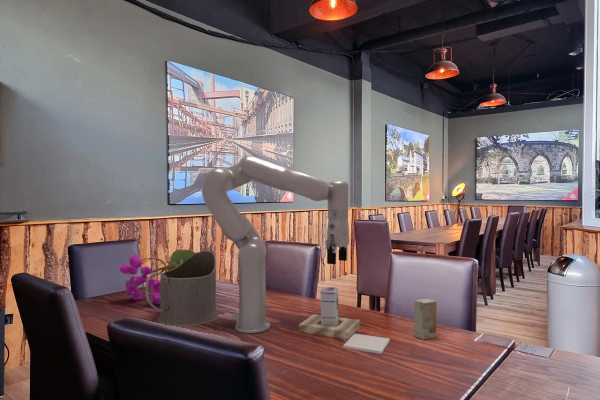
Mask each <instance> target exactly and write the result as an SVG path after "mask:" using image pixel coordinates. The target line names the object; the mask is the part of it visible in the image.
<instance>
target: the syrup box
mask: <svg viewBox="0 0 600 400" xmlns="http://www.w3.org/2000/svg"><path fill="white" fill-rule="evenodd" d="M319 292H320V315H321V325H325V326H333V327H337V326H339V317H340V316H339V314H340V313H339V288H338V287H332V286H327V287H326V286H324V287H322V289H321V290H320V291H319Z"/></svg>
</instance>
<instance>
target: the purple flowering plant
mask: <svg viewBox="0 0 600 400" xmlns="http://www.w3.org/2000/svg"><path fill="white" fill-rule="evenodd" d="M196 253H197V252H195V251H193V250H190V249H178V250H174V251H173V252H172V254H171V257H170V260H169V262H168V261H164V260H162V259H160V258H156V257H145V258H144V259H141V258H142V257H141V256H138V254H136V253H134V254H132V255H131V257H130V258H129V259H128V263H126V264H122V265H121V266H119V272H120V273H123V274H125V275H137V273H138V270H139V269H140V272H139V273H140V274H141V275H140V276H131V277H130V278H129V279H128V280H126V281H125V285H124V287H125V291H126V296H127V297H129V299H131V300H133V301H135V302H137V301H141V300H142V299H143V298H144V296H143V293H142V291H141V290H142V289H145V286H144V285H145V284H146V280H147V278H148V276H149V275H150V274H151V273H154V272H158V273H164V272H167V271H170V270H173V269H175V268H176V267H178V266H179V265H181V264H182V263H183V262H185V261H186V260H187V259H188V258H190V257H191V256H193V255H194V254H196ZM151 260H155V261H159V262H160V264H158V265H155V269H154V267H152V268H151V267H149V266H148V265H146V266H143V264H145V263H147V262H149V261H151ZM143 261H144V262H143ZM162 264H163V266H162V267H159V268H157V267H158V266H160V265H162ZM167 264H168V265H167ZM142 266H143V267H142ZM140 267H141V268H140ZM159 275H160V274H153V275H152V276H151V277H150V279H149V281H148V289H150V290H152V292H151V293H150V296H148V297H149V300H150V302H152V303H153V304H155V305H160V279H159V280H158V279H156V278H154V277H156V276H159ZM141 285H142V286H141ZM139 286H140V287H139Z"/></svg>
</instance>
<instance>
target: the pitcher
mask: <svg viewBox="0 0 600 400" xmlns="http://www.w3.org/2000/svg"><path fill="white" fill-rule="evenodd" d="M195 253H196V254H194V255H193V256H191V257H190V258H188V259H187V260H186V261H185V262H183V263H182V264H181V265H179V266H178V267H176V268H175V269H173V270H170V271H168V270H167V272H165V271H164V272H162V273H159V271H156V272H153V273H151V274H149V275H147V277H148V278H147V280H146V283H144V287H145V288H144V289H145V290H144V292H145V293H144V294H145V298H146V299H145V300H146V302H147V303H148V304H149V306H151V307H152V308H153V309H155V310H158V311H159V315H158V316H157V322H158V323H160V324H163V325H165V324H167V325H166V326H171V325H172V326H173V327H186V326H187V327H189V326H196V325H201V324H205V323H206V324H207V323H209V322H211V321H214V320H216V319H217V318H218V317H219V315H220V314H219V311H218V310H217V271H216V270H217V262H216V261H217V260H216V256H215V253H213V252H212V251H210V250H202V251H197V252H195ZM155 274H159V275H160V276H159V277H160V279H159V280H160V304H159V305H160V308H159V307H156V306H155V305H154V303H153V302H152V301H151V299H150V298H149V297H150V296H149V288H148V281H149V279H150V277H151V276H153V275H155ZM151 278H152V277H151Z"/></svg>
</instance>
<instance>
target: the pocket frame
mask: <svg viewBox="0 0 600 400" xmlns="http://www.w3.org/2000/svg"><path fill="white" fill-rule="evenodd" d="M360 327H361V319H356V318H354V319H353V318H347V317H340V316H339V326H337V327H333V326H325V325H321V314H315V313H314V314H312V315H311V316H309V317H307V319H305V320H303V321H302V322H301V323H299V324H298V333H303V334H304V333H305V334H311V335H319V336H324V337H331V338H337V339H342V340H349V339H350V338H351V337H352V336H353V335H354V334H356V332H357V330H358V329H360Z"/></svg>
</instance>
